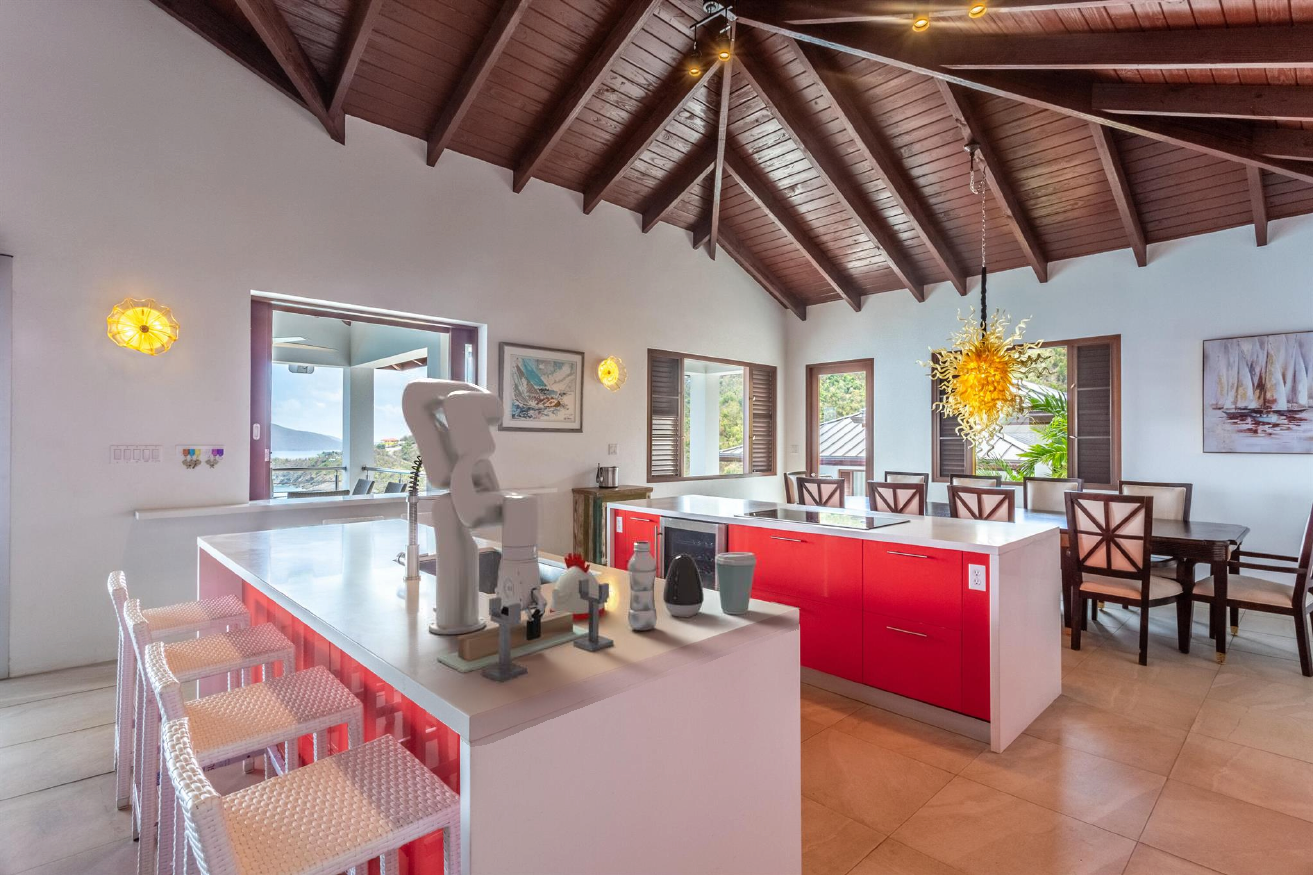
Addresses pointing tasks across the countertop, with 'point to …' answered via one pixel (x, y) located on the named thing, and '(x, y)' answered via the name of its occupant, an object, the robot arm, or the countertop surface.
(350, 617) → the countertop surface
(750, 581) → the disposable coffee cup
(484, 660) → the mat
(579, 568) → the kitchen timer
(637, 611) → the plastic bottle
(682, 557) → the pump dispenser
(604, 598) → the hook standards
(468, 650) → the rail
